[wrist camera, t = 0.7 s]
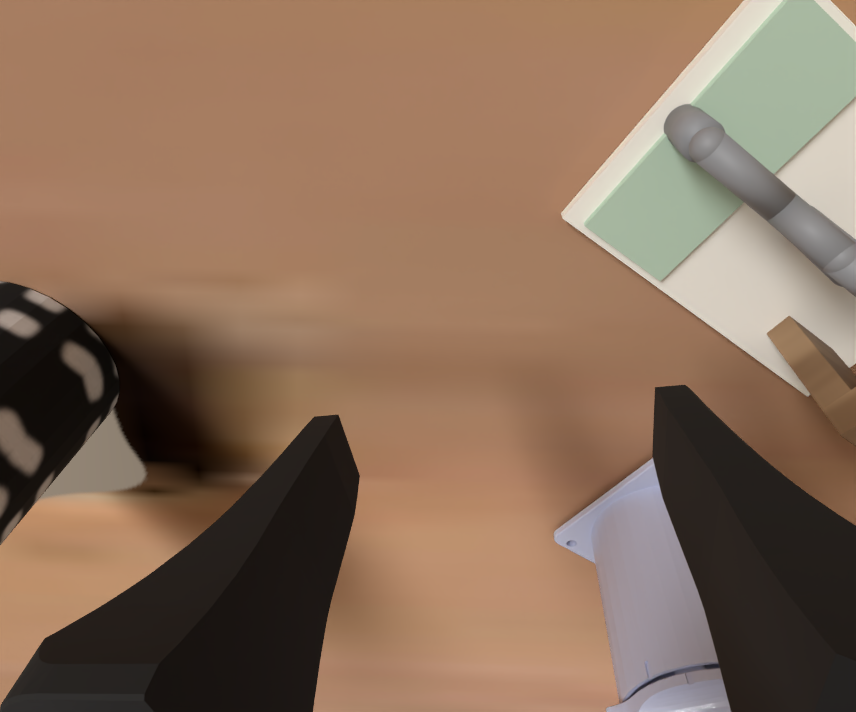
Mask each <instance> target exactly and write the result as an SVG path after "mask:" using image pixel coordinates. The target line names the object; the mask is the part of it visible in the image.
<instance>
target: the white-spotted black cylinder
mask: <svg viewBox="0 0 856 712" xmlns="http://www.w3.org/2000/svg"><path fill="white" fill-rule="evenodd" d="M118 396H119V377H118V373H117V369H116V365H115V363H114V361H113V359H112V357H111V355H110V353H109V351H108V350H107V348H106V347H105V345H104V344H103V343H102V341H101V340H100V338H99V337H98V336H97V335H96V334H95V333H94V332H93V331H92V330H91V328H90V327H89V326H88V325H87V324H86V323H85V322H84V321H83V320H81V319H80V318H79V317H77V316H76V315H75V314H74V313H72V312H71V311H70V310H69V309H67V308H66V307H64V306H63V305H61V304H59V303H58V302H56V301H54V300H53V299H51V298H49V297H47V296H45V295H43V294H41V293H38V292H36V291H34V290H32V289H29V288H26V287H23V286H19V285H16V284H12V283H8V282H1V281H0V545H1V544H2V542H3V541H4V540H5V539H6V538H7V536H8V535H9V534H10V533H11V532H12V530H13V529H14V528H15V527H16V526H17V524H18V523H19V522H20V521H21V520H22V518H23V517H24V516H25V515H26V514H27V512H28V511H29V510H30V509H31V508H32V506H33V505H34V504H35V503H36V502H37V500H38V499H39V498H40V497H41V495H42V494H43V493H44V492H45V491H46V489H47V488H48V487H49V486H50V485H51V483H52V482H53V481H54V480H55V479H56V477H57V476H58V475H59V474H60V473H61V471H62V470H63V469H64V468H65V467H66V465H67V464H68V463H69V462H70V461H71V459H72V458H73V457H74V456H75V455H76V453H77V452H78V451H79V450H80V448H81V447H82V446H83V445H84V444H85V442H86V441H87V440H88V439H89V438H90V436H91V435H92V434H93V433H94V432H95V430H96V429H97V428H98V427H99V426H100V424H101V423H102V422H103V421H104V420H105V418H106V417H107V416H108V415H109V414H110V412H111V411H112V409H113V408H114V406H115V405H116V403H117V399H118Z"/></svg>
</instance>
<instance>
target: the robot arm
mask: <svg viewBox="0 0 856 712" xmlns="http://www.w3.org/2000/svg"><path fill="white" fill-rule="evenodd" d="M652 457H653V458H652V459H651V460H649V461H648V462H647V463H645V464H644V465H643V466H641V467H640V468H639V469H637V470H636V471H634V472H633V473H632V474H630V475H629V476H628V477H626V478H625V479H624V480H622V481H621V482H620V483H618V484H617V485H616V486H614V487H613V488H612V489H610V490H609V491H608V492H606V493H605V494H604V495H602V496H601V497H600V498H598V499H597V500H596V501H594V502H593V503H592V504H590V505H589V506H588V507H586V508H585V509H583V510H582V511H581V512H579V513H578V514H577V515H575V516H574V517H573V518H571V519H570V520H569V521H567V522H566V523H565V524H563V525H562V526H561V527H559V528H558V529H557V530H556V531H555V532H554V540H555V542H556V543H558V544H559V545H561V546H563V547H565V548H567V549H569V550H571V551H572V552H574V553H576V554H578V555H580V556H582V557H584V558H585V559H587V560H589V561H591V562H593V563H595V564H596V570H597V575H598V581H599V587H600V593H601V599H602V604H603V610H604V616H605V622H606V628H607V633H608V639H609V645H610V651H611V657H612V662H613V668H614V674H615V680H616V686H617V691H618V697H619V703H620V704H617V705H614V706H610V707H607V708H606V712H856V526H855V525H854V524H852V523H851V522H849V521H847V520H846V519H844V518H843V517H841V516H840V515H838V514H837V513H835V512H834V511H832V510H831V509H829V508H828V507H826V506H825V505H823V504H822V503H821V502H819V501H818V500H816V499H815V498H813V497H812V496H810V495H809V494H808V493H806V492H805V491H804V490H802V489H801V488H800V487H798V486H797V485H796V484H794V483H793V482H792V481H790V480H789V479H788V478H787V477H785V476H784V475H783V474H782V473H780V472H779V471H778V470H777V469H775V468H774V467H773V466H772V465H770V464H769V463H768V462H767V461H766V460H765V459H763V458H762V457H761V456H760V455H759V454H757V453H756V452H755V451H754V450H753V449H752V448H751V447H750V446H749V445H747V444H746V443H745V442H744V441H743V440H742V439H741V438H740V437H738V436H737V435H736V434H735V433H734V432H733V431H732V430H731V429H730V428H729V427H728V426H727V425H726V424H725V423H724V422H723V421H721V420H720V419H719V418H718V417H717V416H716V415H715V414H714V413H713V412H712V411H711V410H710V409H709V408H708V407H707V406H706V405H705V404H704V403H703V402H702V401H701V400H700V399H699V398H698V396H697V395H696V394H695V393H694V392H693V391H692V390H691V389H690V388H688V387H687V386H686V385H678V386H666V387H655V404H654V430H653V456H652ZM359 477H360V475H359V472H358V470H357V467H356V464H355V461H354V458H353V455H352V452H351V450H350V447H349V444H348V441H347V438H346V435H345V432H344V430H343V427H342V424H341V421H340V418H339V415H330V416H318V417H314V418H313V419H312V420H311V421H310V422H309V423H308V424H307V425H306V426H305V427H304V429H303V430H302V431H301V432H300V433H299V434H298V435H297V437H296V438H295V439H294V440H293V441H292V442H291V444H290V445H289V446H288V447H287V448H286V449H285V450H284V452H283V453H282V454H281V455H280V456H279V457H278V458H277V459H276V461H275V462H274V463H273V464H272V465H271V466H270V467H269V468H268V469H267V471H266V472H265V473H264V474H263V475H262V476H261V477H260V478H259V479H258V480H257V481H256V482H255V483H254V484H253V485H252V486H251V487H250V488H249V489H248V490H247V491H246V493H245V494H244V495H243V496H242V497H241V498H240V499H239V500H238V501H237V502H236V503H235V504H234V505H233V506H232V507H231V508H230V509H229V510H228V511H227V512H226V513H224V514H223V515H222V516H221V517H220V518H219V519H218V520H217V521H216V522H215V523H214V524H212V525H211V526H210V527H209V528H208V529H207V530H205V531H204V532H203V533H202V534H201V535H200V536H198V537H197V538H196V539H195V540H194V541H193V542H191V543H190V544H189V545H188V546H186V547H185V548H184V549H182V550H181V551H180V552H178V553H177V554H176V555H175V556H173V557H172V558H171V559H169V560H168V561H167V562H165V563H164V564H163V565H161V566H160V567H159V568H157V569H156V570H155V571H154V572H152V573H151V574H149V575H148V576H146V577H145V578H144V579H142V580H141V581H139V582H138V583H136V584H135V585H133V586H132V587H130V588H129V589H127V590H126V591H124V592H123V593H121V594H120V595H118V596H117V597H115V598H113V599H112V600H110V601H109V602H107V603H106V604H104V605H102V606H101V607H99V608H97V609H96V610H94V611H92V612H91V613H89V614H87V615H85V616H84V617H82V618H80V619H79V620H77V621H75V622H73V623H72V624H70V625H68V626H66V627H65V628H63V629H61V630H59V631H58V632H56V633H54V634H52V635H50V636H49V637H47V638H45V639H44V640H43V642H42V643H41V645H40V646H39V648H38V649H37V651H36V652H35V654H34V655H33V657H32V658H31V660H30V661H29V663H28V664H27V666H26V668H25V669H24V671H23V672H22V674H21V675H20V677H19V678H18V680H17V681H16V683H15V684H14V686H13V687H12V689H11V690H10V692H9V693H8V695H7V696H6V698H5V699H4V701H3V702H2V704H1V707H0V712H313V706H314V698H315V692H316V685H317V678H318V671H319V664H320V657H321V651H322V645H323V639H324V633H325V628H326V622H327V617H328V612H329V608H330V604H331V599H332V596H333V592H334V588H335V585H336V581H337V578H338V574H339V570H340V567H341V563H342V559H343V556H344V552H345V549H346V545H347V541H348V538H349V534H350V530H351V526H352V522H353V519H354V515H355V508H356V501H357V494H358V485H359Z"/></svg>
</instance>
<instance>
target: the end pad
mask: <svg viewBox="0 0 856 712" xmlns="http://www.w3.org/2000/svg"><path fill="white" fill-rule="evenodd" d="M855 97H856V42H855V41H854V40H853V39H852V38H851V37H850V36H849V35H848V34H847V33H846V32H845V31H844V30H843V29H842V28H841V27H840V26H839V25H838V24H837V23H836V22H835V21H834V20H833V19H832V18H831V17H830V16H829V15H828V14H827V13H826V12H825V11H824V10H823V9H822V8H821V7H820V6H819V5H818V4H817V3H816V2H815V1H814V0H783V1H782V2H781V3H780V4H779V5H778V6H777V8H776V9H775V10H774V11H773V12H772V13H771V14H770V15H769V16H768V18H767V19H766V20H765V21H764V22H763V23H762V24H761V25H760V27H759V28H758V29H757V30H756V31H755V32H754V33H753V34H752V35H751V37H750V38H749V39H748V40H747V41H746V42H745V43H744V44H743V46H742V47H741V48H740V49H739V50H738V51H737V52H736V53H735V54H734V56H733V57H732V58H731V59H730V60H729V61H728V62H727V63H726V64H725V66H724V67H723V68H722V69H721V70H720V71H719V72H718V73H717V75H716V76H715V77H714V78H713V79H712V80H711V81H710V82H709V83H708V85H707V86H706V87H705V88H704V89H703V90H702V91H701V92H700V94H699V95H698V96H697V97H696V98H695V99H694V100H693V101H692V102H691V105H692V106H695V107H698V108H700V109H701V110H703V111H704V112H705V113H707V114H708V115H710V116H711V117H712V118H714V119H715V120H716V121H718V122H719V123H720V124H721V125H722V126H723V127H724V130H725V133H726V134H727V135H729V136H730V137H731V138H732V139H733V140H734V141H736V142H737V143H738V144H739V145H740V146H741V147H743V148H744V149H745V150H746V151H747V152H748V153H749V154H751V155H752V156H753V157H754V158H755V159H756V160H758V161H759V162H760V163H761V164H762V165H763V166H765V167H766V168H767V169H768V170H769V171H770V172H772V173H773V174H774V173H775V172H777V171H778V170H779V169H780V168H781V167H782V166H783V165H784V164H785V163H786V162H787V161H788V160H789V159H790V158H791V157H792V156H793V155H794V154H796V153H797V152H798V151H799V150H800V149H801V148H802V147H803V146H804V145H805V144H806V143H807V142H808V141H809V140H810V139H811V138H812V137H813V136H815V135H816V134H817V133H818V132H819V131H820V130H821V129H822V128H823V127H824V126H825V125H826V124H827V123H828V122H829V121H830V120H831V119H833V118H834V117H835V116H836V115H837V114H838V113H839V112H840V111H841V110H842V109H843V108H844V107H845V106H846V105H847V104H848V103H849V102H850V101H852V100H853V99H854V98H855ZM743 203H744V202H743V201H742V200H741V199H739V198H738V197H737V196H736V195H735V194H733V193H732V192H731V191H730V190H729V189H727V188H726V187H725V186H724V185H722V184H721V183H720V182H719V181H718V180H716V179H715V178H714V177H713V176H712V175H710V174H709V173H708V172H707V171H705V170H704V169H703V168H702V167H701V166H699V165H698V164H697V163H695V162H691V161H689V160H687V159H686V158H685V157H684V156H683V155H682V154H681V153H680V152H679V151H678V150H677V149H676V148H675V147H674V146H673V145H672V143H671V142H670V141H669V140H668V138H667V135H666V134H665V133H664V134H663V135H662V136H661V137H660V138H659V139H658V140H657V142H656V143H655V144H654V145H653V146H652V147H651V148H650V149H649V150H648V152H647V153H646V154H645V155H644V156H643V157H642V158H641V159H640V160H639V162H638V163H637V164H636V165H635V166H634V167H633V168H632V169H631V171H630V172H629V173H628V174H627V175H626V176H625V177H624V178H623V179H622V181H621V182H620V183H619V184H618V185H617V186H616V187H615V188H614V189H613V191H612V192H611V193H610V194H609V195H608V196H607V197H606V198H605V200H604V201H603V202H602V203H601V204H600V205H599V206H598V207H597V208H596V210H595V211H594V212H593V213H592V214H591V215H590V216H589V217H588V219H587V220H586V221H585V222H584V225H585V227H587V228H588V229H589V230H591V231H592V232H593V233H595V234H596V235H597V236H599V237H600V238H602V239H603V240H604V241H606V242H607V243H608V244H610V245H611V246H613V247H614V248H615V249H617V250H618V251H619V252H621V253H622V254H623V255H625V256H626V257H628V258H629V259H630V260H632V261H633V262H634V263H636V264H637V265H638V266H640V267H641V268H643V269H644V270H645V271H647V272H648V273H649V274H651V275H652V276H653V277H655V278H656V279H658V280H659V281H661V280H662V279H663V278H664V277H666V276H667V275H668V274H669V273H670V272H671V271H672V270H673V269H674V268H675V267H676V266H677V265H678V264H679V263H680V262H681V261H682V260H684V259H685V258H686V257H687V256H688V255H689V254H690V253H691V252H692V251H693V250H694V249H695V248H696V247H697V246H698V245H699V244H700V243H701V242H703V241H704V240H705V239H706V238H707V237H708V236H709V235H710V234H711V233H712V232H713V231H714V230H715V229H716V228H717V227H718V226H719V225H720V224H722V223H723V222H724V221H725V220H726V219H727V218H728V217H729V216H730V215H731V214H732V213H733V212H734V211H735V210H736V209H737V208H738V207H740V206H741V205H742V204H743Z"/></svg>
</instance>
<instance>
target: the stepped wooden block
mask: <svg viewBox="0 0 856 712" xmlns="http://www.w3.org/2000/svg"><path fill="white" fill-rule="evenodd" d="M766 334H767V335H768V337H769V338H770V339H771V341H772V342H773V343H774V345H775V346H776V348H777V349H778V350H779V352H780V353H781V354H782V356H783V357H784V359H785V360H786V361H787V363H788V364H789V365H790V367H791V368H792V369H793V371H794V372H795V374H796V375H797V376H798V378H799V379H800V380H801V382H802V383H803V385H804V386H805V387H806V389H807V390H808V391H809V393H810V394H811V396H812V397H813V398H814V400H815V401H816V402H817V404H818V405H819V407H820V408H821V409H822V411H823V412H824V413H825V415H826V416H827V418H828V419H829V420H830V422H831V423H832V424H833V426H834V427H835V429H836V430H837V431H838V433H839V434H840V435H841V436H842V437H843V438H845V439H846V440H848V441H849V442H850V443H852V444H853V445H855V446H856V375H855V374H854V373H853V372H852V371H851V370H850V368H849V367H848V366H847V365H846V364H845V363H844V361H843V360H842V359H841V358H840V357H839V356H838V355H837V353H836V352H835V351H834V350H833V349H832V348H831V347H829V346H828V345H827V344H826V343H824V342H823V341H822V340H820V339H819V338H818V337H817V336H815V335H814V334H813V333H811V332H810V331H809V330H808V329H806V328H805V327H804V326H802V325H801V324H800V323H798V322H797V321H796V320H795V319H793V318H792V317H791V316H788V317H787V318H785V319H784V320H783V321H782V322H780V323H779V324H778V325H776V326H775V327H774V328H773V329H771V330H770V331H769V332H768V333H766Z"/></svg>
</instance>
